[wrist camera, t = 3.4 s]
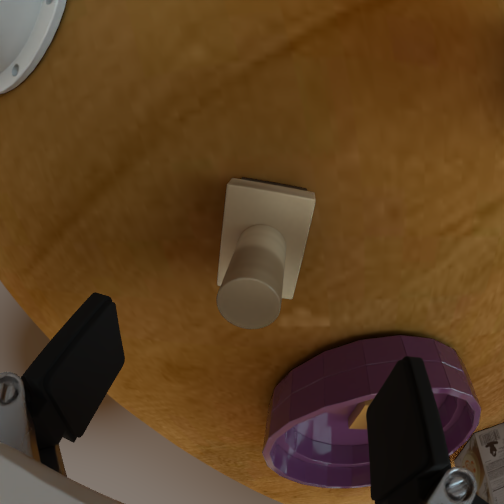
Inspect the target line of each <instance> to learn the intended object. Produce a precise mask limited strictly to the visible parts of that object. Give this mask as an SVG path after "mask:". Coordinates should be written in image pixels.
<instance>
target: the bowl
mask: <svg viewBox="0 0 504 504" xmlns="http://www.w3.org/2000/svg"><path fill="white" fill-rule="evenodd" d="M405 356H410V357H420V358H422V359H423V361H424V365H425V368H426V371H427V374H428V377H429V381H430V384H431V387H432V391H433V394H434V398H435V401H436V404H437V407H438V411H439V415H440V419H441V423H442V427H443V431H444V435H445V440H446V444H447V449H448V453H449V456H450V455H451V454H452V453H454V452H455V451H456V450H457V449H458V448H459V447H461V446H462V445H463V444H464V443H465V442H466V441H467V440H468V439H469V438H470V436H471V435H472V433H473V432H474V430H475V429H476V427H477V426H478V424H479V419H480V413H481V406H480V404H479V401H478V398H477V395H476V393H475V390H474V388H473V385H472V383H471V380H470V377H469V375H468V373H467V370H466V368H465V365H464V364H463V362H462V360H461V359H460V357H459V356H458V354H457V353H456V351H455V350H454V349H452V348H450V347H448V346H446V345H444V344H442V343H440V342H438V341H436V340H434V339H431V338H423V337H414V336H405V335H395V336H388V337H380V338H372V339H363V340H358V341H355V342H352V343H349V344H346V345H343V346H340V347H337V348H334V349H331V350H327V351H324V352H322V353H321V354H319V355H317V356H315V357H314V358H312V359H310V360H308V361H307V362H305V363H303V364H301V365H300V366H298V367H296V368H294V369H292V371H291V372H290V373H289V374H288V375H287V376H286V377H285V378H284V379H283V380H282V381H281V382H280V383H279V384H278V385H277V386H276V387H275V389H274V392H273V395H272V398H271V401H270V404H269V408H268V415H267V423H266V430H265V437H264V444H263V451H262V453H263V456H264V459H265V461H266V464H267V466H268V467H269V468H271V469H272V470H273V471H275V472H276V473H277V474H279V475H280V476H282V477H284V478H287V479H289V480H292V481H295V482H297V483H300V484H304V485H310V486H316V487H322V488H358V487H366V486H371V484H370V462H369V445H368V432H367V429H349V427H348V418H349V416H350V415H351V413H352V412H353V411H354V409H355V408H356V406H357V405H358V403H360V402H364V401H367V400H371V399H374V398H375V396H376V395H377V393H378V392H379V390H380V389H381V387H382V386H383V384H384V382H385V381H386V379H387V378H388V376H389V375H390V373H391V371H392V370H393V368H394V366H395V365H396V363H397V362H398V361H399V360H402V359H403V358H404V357H405Z"/></svg>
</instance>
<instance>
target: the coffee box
mask: <svg viewBox="0 0 504 504" xmlns="http://www.w3.org/2000/svg"><path fill="white" fill-rule="evenodd" d="M454 462H455V467H457V466H459V467H464V468H467V469H468V470H470V471H471V472H472V473H473V475H474V477H475V478H476V482H477V491H476V494H477V495H478V496H479V497H481V498H482V499H483V500H485V501H486V502H487V503H489V504H504V423H502V424H499V425H496V426H494V427H491V428H488V429H485V430H483V431H479V432H476V433H474V434H473V435H472V437H471V438H470V440H469V441H468V443H467V444H466V446H465V447H464V448H463V450H462V451H461V453H460V454H459V455H458V457H457V458H456V459H455V461H454Z"/></svg>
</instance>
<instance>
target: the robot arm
mask: <svg viewBox="0 0 504 504" xmlns="http://www.w3.org/2000/svg"><path fill="white" fill-rule="evenodd" d="M65 4H66V0H0V94H2V93H6V92H8V91H10V90H12V89H14V88H16V87H17V86H18V85H19V84H20V83H22V82H23V81H24V80H25V79H26V78H27V77H28V75H29V74H30V73H31V72H32V71H33V70H34V68H35V67H36V66H37V64H38V63H39V61H40V60H41V58H42V57H43V55H44V54H45V52H46V50H47V48H48V46H49V45H50V43H51V41H52V39H53V37H54V34H55V32H56V30H57V28H58V26H59V23H60V20H61V17H62V14H63V12H64V9H65ZM124 360H125V356H124V351H123V346H122V341H121V335H120V330H119V324H118V318H117V312H116V305H115V303H114V302H112V299H111V298H110V297H109V296H106V295H102V294H99V293H96V292H95V293H93V294H92V295H91V296H90V297H89V298H88V299H87V300H86V301H85V302H84V303H83V304H82V306H81V307H80V308H79V309H78V310H77V311H76V312H75V313H74V314H73V316H72V317H71V318H70V319H69V320H68V321H67V322H66V323H65V325H64V326H63V327H62V328H61V329H60V330H59V332H58V333H57V334H56V335H55V336H54V337H53V339H52V340H51V341H50V342H49V343H48V344H47V346H46V347H45V348H44V349H43V351H42V352H41V353H40V354H39V355H38V357H37V358H36V359H35V360H34V361H33V363H32V364H31V365H30V366H29V368H28V369H27V370H26V372H25V373H24V374H23V376H22V377H21V378H20V377H19V376H18V375H17V374H15V373H11V372H3V373H0V504H124V503H121V502H119V501H117V500H114V499H112V498H109V497H107V496H105V495H103V494H100V493H98V492H96V491H94V490H92V489H90V488H87V487H85V486H83V485H81V484H79V483H77V482H75V481H73V480H71V479H69V478H67V475H66V471H65V468H64V464H63V460H62V456H61V452H60V448H59V442H60V440H61V439H62V437H64V438H66V439H68V440H70V441H71V442H75V440H76V438H77V437H81V436H82V435H83V434H84V432H85V430H86V428H87V426H88V425H89V423H90V421H91V419H92V418H93V416H94V414H95V412H96V411H97V409H98V407H99V405H100V404H101V402H102V400H103V398H104V397H105V395H106V393H107V392H108V390H109V388H110V387H111V385H112V383H113V381H114V380H115V378H116V376H117V375H118V373H119V371H120V370H121V368H122V366H123V364H124ZM366 420H367V432H368V445H369V462H370V484H371V498H372V500H375V504H489V503H487V502H486V501H485V500H483V499H482V498H481V497H479V496H478V495H477V494H476V491H477V482H476V478H475V477H474V475H473V473H472V472H471V471H470V470H468V469H467V468H464V467H459V466H457V467H453V468H451V463H450V458H449V453H448V449H447V444H446V440H445V435H444V431H443V427H442V423H441V419H440V415H439V411H438V407H437V404H436V401H435V398H434V394H433V391H432V387H431V384H430V381H429V377H428V374H427V371H426V368H425V365H424V361H423V359H422V358H420V357H410V356H405V357H404V358H403V359H402V360H399V361H398V362H397V363H396V365H395V366H394V368H393V370H392V371H391V373H390V375H389V376H388V378H387V379H386V381H385V382H384V384H383V386H382V387H381V389H380V390H379V392H378V393H377V395H376V396H375V398H374V399H373V401H372V402H371V404H370V405H369V407H368V409H367V412H366Z"/></svg>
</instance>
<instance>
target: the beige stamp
mask: <svg viewBox="0 0 504 504" xmlns="http://www.w3.org/2000/svg"><path fill="white" fill-rule="evenodd" d="M315 202H316V199H315V193H314V192H309V191H307V189H306V188H302V187H296V186H291V185H286V184H280V183H275V182H269V181H263V180H257V179H251V178H245V177H242V178H241V179H236V178H232V179H231V180H230V181H229V183H228V184H227V189H226V198H225V207H224V217H223V226H222V236H221V246H220V257H219V267H218V278H217V285H218V286H220V289H219V291H218V294H217V306H218V309H219V311H220V313H221V314H222V316H223V317H224V318H225V319H226V320H227V321H229V322H230V323H232V324H233V325H236V326H238V327H241V328H246V329H258V328H262V327H265V326H267V325H269V324H271V323H272V322H273V321H274V320H275V319H276V318H277V317H278V315H279V313H280V309H281V300H282V298H286V299H292V298H293V294H294V290H295V286H296V282H297V278H298V274H299V270H300V266H301V262H302V258H303V254H304V250H305V246H306V242H307V237H308V233H309V229H310V224H311V220H312V216H313V211H314V207H315Z"/></svg>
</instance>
